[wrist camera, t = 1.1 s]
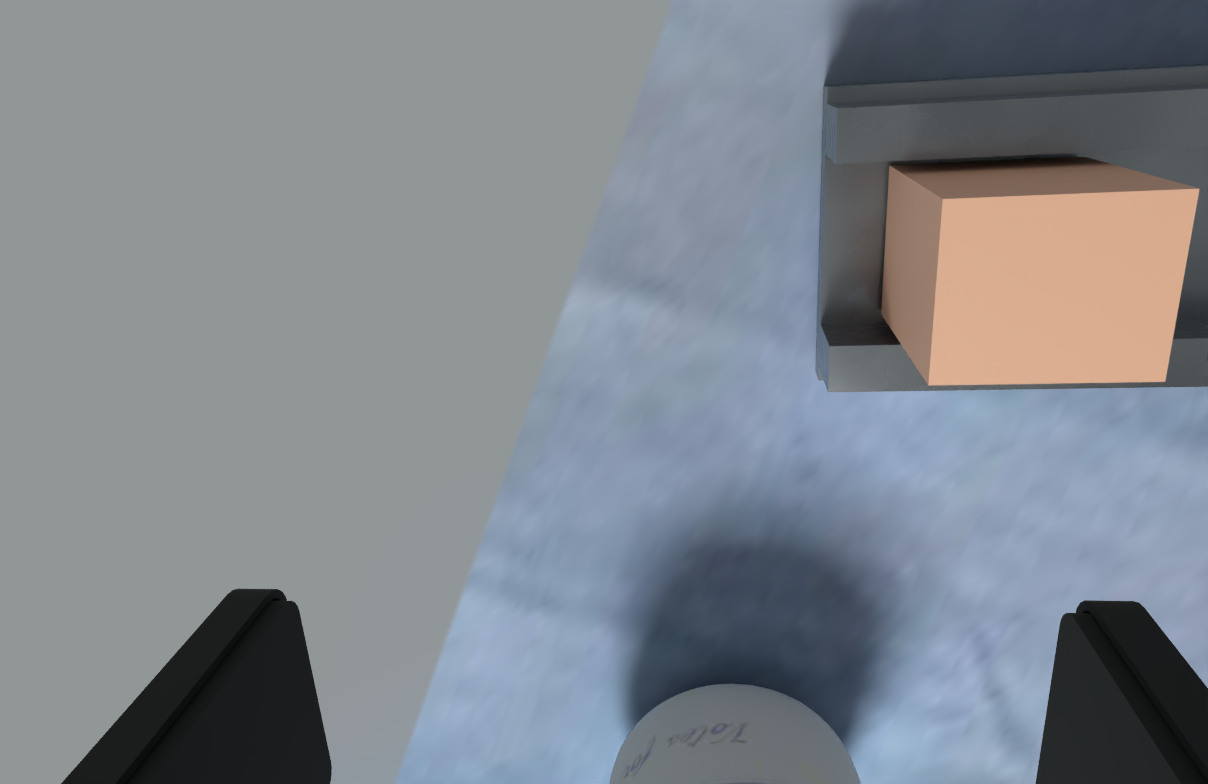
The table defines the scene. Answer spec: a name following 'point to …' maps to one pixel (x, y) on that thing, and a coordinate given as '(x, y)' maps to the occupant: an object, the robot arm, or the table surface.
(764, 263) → the table surface
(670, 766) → the teacup
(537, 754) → the table surface
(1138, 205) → the block
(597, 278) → the table surface
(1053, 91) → the chute
